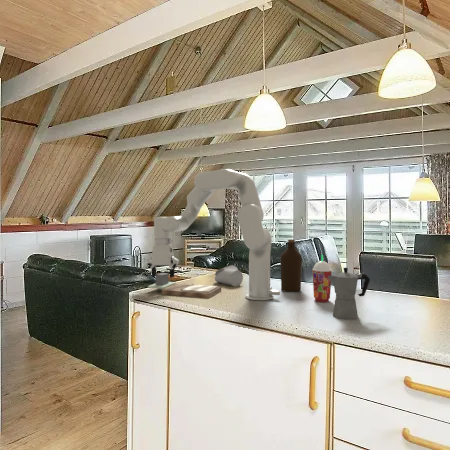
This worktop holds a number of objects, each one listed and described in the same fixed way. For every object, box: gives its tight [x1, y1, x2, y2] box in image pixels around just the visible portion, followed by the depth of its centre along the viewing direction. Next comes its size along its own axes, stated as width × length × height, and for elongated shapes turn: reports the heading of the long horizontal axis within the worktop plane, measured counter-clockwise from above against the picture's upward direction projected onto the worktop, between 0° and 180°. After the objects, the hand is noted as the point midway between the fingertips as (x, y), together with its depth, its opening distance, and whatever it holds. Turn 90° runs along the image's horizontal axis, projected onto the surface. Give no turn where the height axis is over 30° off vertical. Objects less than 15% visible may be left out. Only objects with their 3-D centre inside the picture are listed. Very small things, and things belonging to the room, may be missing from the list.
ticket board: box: [161, 283, 222, 299], centre depth 178 cm, size 24×16×3 cm, turn 71°
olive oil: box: [279, 239, 303, 293], centre depth 184 cm, size 11×11×25 cm
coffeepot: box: [327, 267, 371, 320], centre depth 137 cm, size 15×9×18 cm, turn 89°
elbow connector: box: [214, 264, 244, 287], centre depth 205 cm, size 18×11×20 cm
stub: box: [147, 272, 177, 290], centre depth 183 cm, size 8×13×6 cm, turn 161°
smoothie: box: [311, 254, 333, 303], centre depth 162 cm, size 8×8×20 cm
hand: (163, 276), depth 183 cm, fingers open, 9 cm apart
